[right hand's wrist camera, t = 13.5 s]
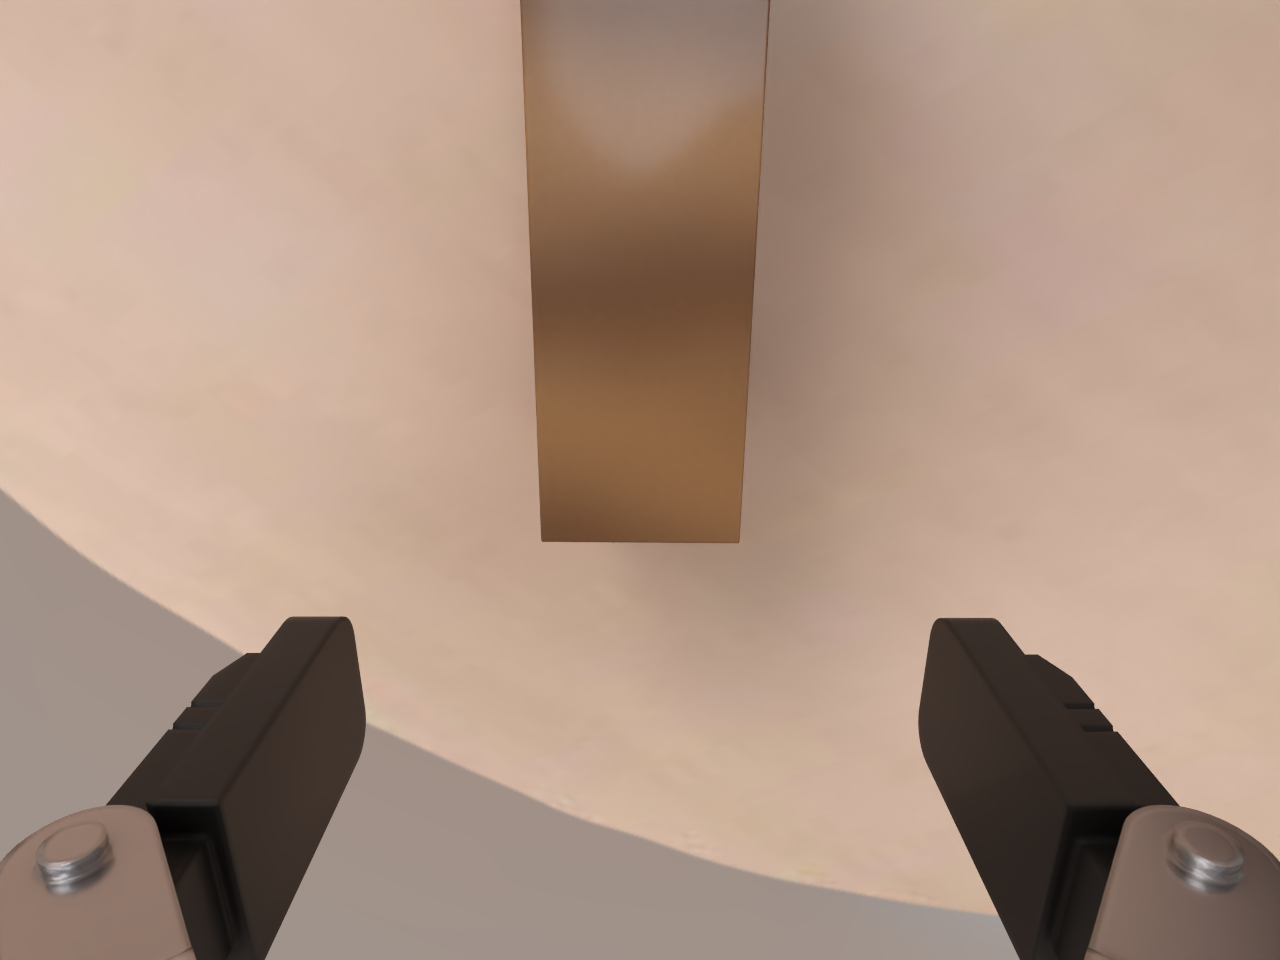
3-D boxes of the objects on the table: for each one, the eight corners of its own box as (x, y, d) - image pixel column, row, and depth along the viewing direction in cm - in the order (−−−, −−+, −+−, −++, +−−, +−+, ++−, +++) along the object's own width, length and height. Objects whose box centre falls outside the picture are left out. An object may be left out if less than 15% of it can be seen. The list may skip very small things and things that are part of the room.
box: (711, 436, 36) (739, 543, 26) (569, 434, 36) (541, 542, 26) (745, -377, 26) (810, -713, 16) (549, -379, 26) (491, -717, 16)
